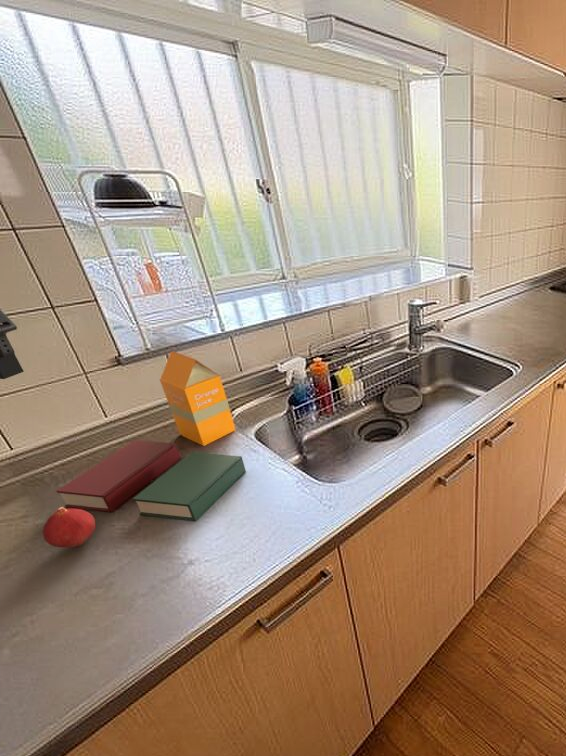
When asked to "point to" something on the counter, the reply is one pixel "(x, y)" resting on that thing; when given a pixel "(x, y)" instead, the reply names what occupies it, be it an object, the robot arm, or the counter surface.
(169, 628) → the counter surface
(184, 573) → the counter surface
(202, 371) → the orange juice
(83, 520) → the pomegranate
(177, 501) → the green book
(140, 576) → the counter surface
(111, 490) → the burgundy book
